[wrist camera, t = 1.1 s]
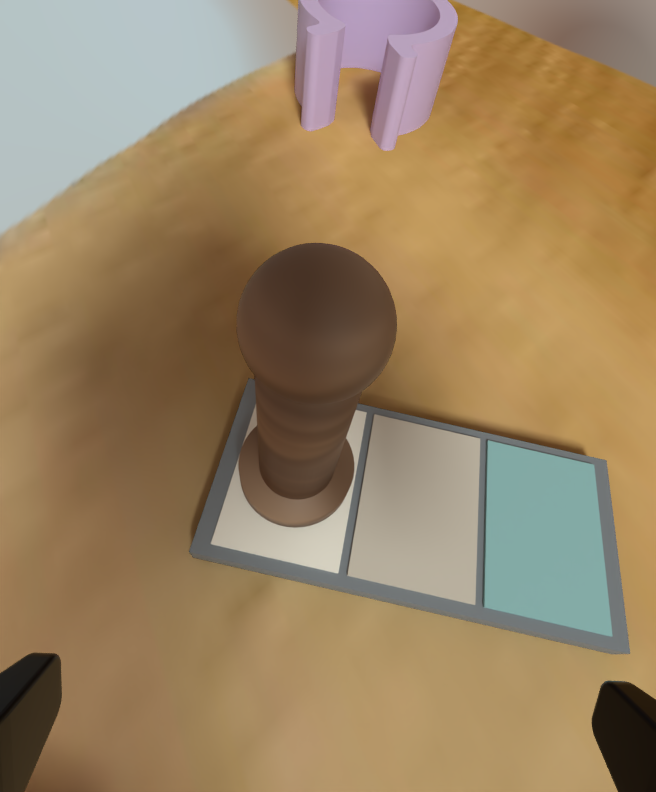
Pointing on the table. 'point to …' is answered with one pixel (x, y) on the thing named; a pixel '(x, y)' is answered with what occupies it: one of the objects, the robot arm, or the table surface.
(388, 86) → the clip
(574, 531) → the board
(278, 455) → the pawn
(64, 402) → the table surface
